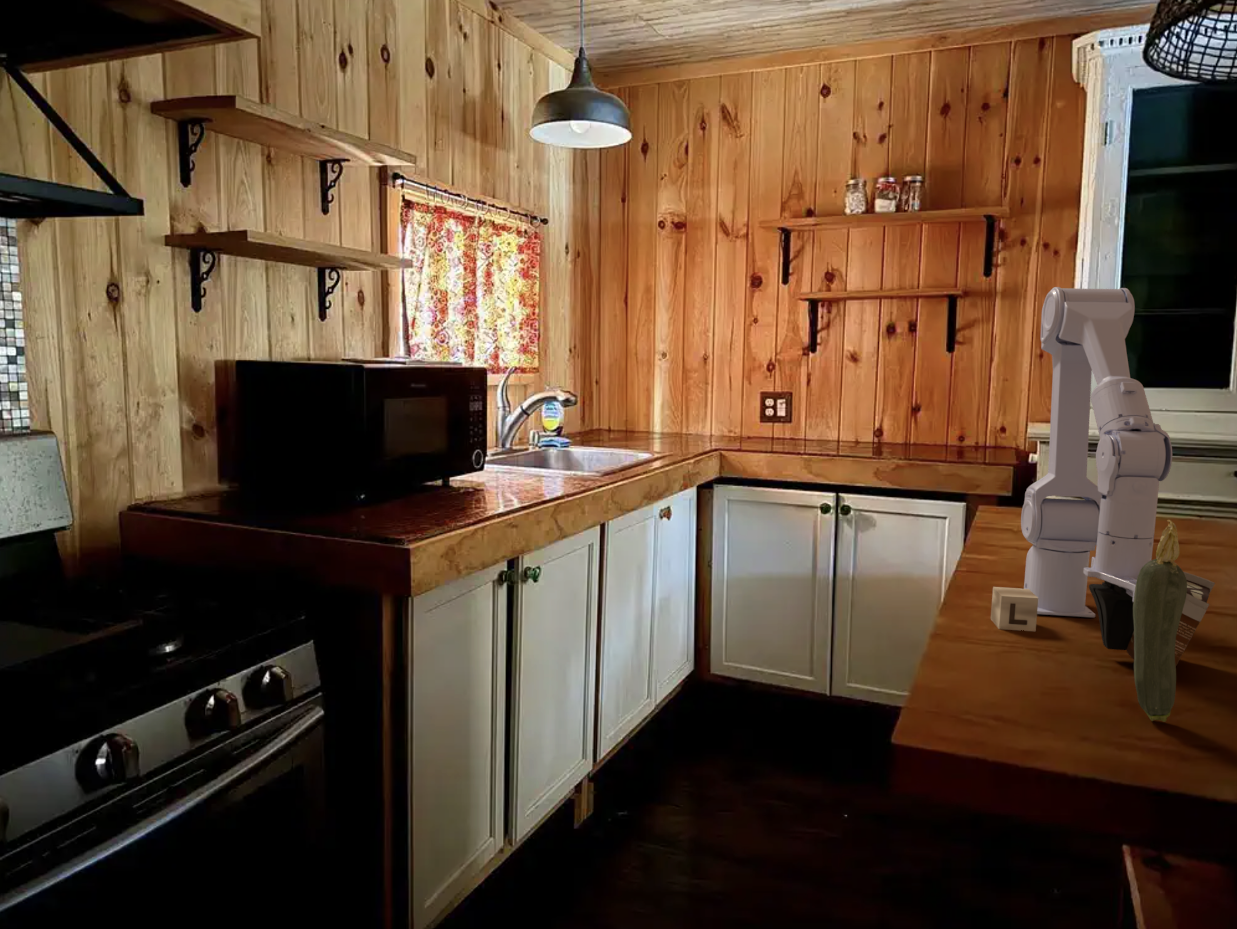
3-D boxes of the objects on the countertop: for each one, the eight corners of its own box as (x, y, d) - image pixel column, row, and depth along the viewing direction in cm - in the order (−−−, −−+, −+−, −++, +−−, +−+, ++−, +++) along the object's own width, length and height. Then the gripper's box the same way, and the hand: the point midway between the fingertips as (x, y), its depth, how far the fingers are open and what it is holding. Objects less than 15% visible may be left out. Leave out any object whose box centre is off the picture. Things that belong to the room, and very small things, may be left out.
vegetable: (1159, 734, 89) (1180, 527, 86) (1113, 718, 93) (1132, 519, 90) (1181, 723, 92) (1202, 522, 89) (1135, 708, 95) (1154, 515, 93)
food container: (1123, 630, 115) (1159, 558, 112) (1176, 655, 112) (1215, 581, 109) (1108, 656, 105) (1148, 578, 102) (1166, 684, 102) (1209, 605, 99)
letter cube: (990, 619, 126) (993, 586, 125) (1025, 621, 125) (1028, 588, 124) (999, 630, 121) (1001, 596, 120) (1035, 632, 120) (1038, 598, 120)
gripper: (1068, 520, 116) (1059, 626, 118) (1111, 545, 102) (1099, 665, 104) (1129, 523, 115) (1119, 630, 117) (1181, 549, 101) (1168, 670, 103)
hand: (1114, 647), depth 110 cm, fingers closed
